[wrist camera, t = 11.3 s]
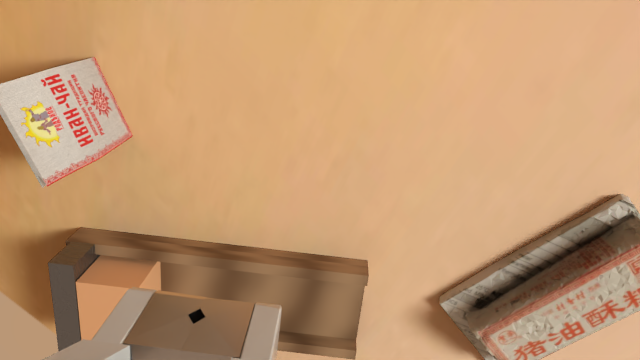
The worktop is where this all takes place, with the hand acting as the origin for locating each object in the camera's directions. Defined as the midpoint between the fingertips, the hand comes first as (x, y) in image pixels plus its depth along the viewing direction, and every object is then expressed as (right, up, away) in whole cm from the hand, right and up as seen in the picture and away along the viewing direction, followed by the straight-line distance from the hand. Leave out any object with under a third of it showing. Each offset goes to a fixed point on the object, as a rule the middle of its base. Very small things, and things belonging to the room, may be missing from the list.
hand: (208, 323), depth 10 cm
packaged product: (+23, -6, +34) cm, 42 cm away
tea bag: (-16, +9, +30) cm, 35 cm away
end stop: (-18, -6, +35) cm, 40 cm away
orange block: (-15, -6, +35) cm, 39 cm away
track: (-7, -7, +35) cm, 37 cm away
